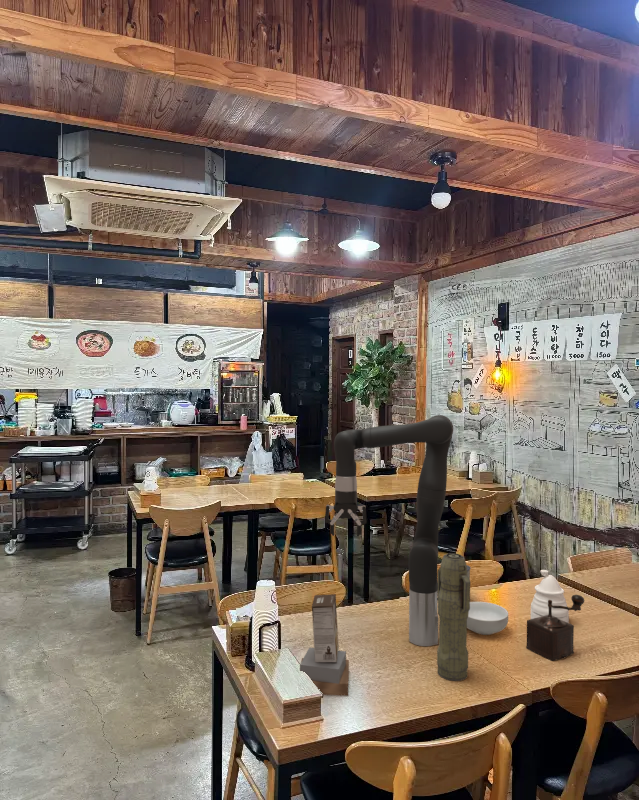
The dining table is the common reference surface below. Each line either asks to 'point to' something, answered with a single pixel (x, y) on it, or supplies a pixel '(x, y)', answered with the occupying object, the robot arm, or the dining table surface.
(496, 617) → the cereal bowl
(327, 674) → the grey square block
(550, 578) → the honey pot
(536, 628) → the manual coffee grinder
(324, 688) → the walnut base block
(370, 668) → the dining table surface
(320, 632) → the coffee box
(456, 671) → the thermos
